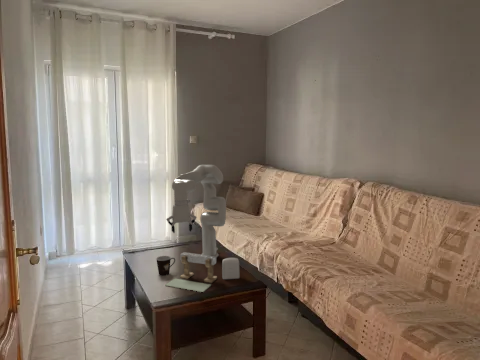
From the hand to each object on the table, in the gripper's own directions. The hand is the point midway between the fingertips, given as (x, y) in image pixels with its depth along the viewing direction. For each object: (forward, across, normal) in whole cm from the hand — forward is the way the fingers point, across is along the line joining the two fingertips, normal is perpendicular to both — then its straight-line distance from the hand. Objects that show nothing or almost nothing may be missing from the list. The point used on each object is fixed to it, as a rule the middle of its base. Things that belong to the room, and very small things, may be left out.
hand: (182, 231), depth 208 cm
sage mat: (+29, -1, +10) cm, 31 cm away
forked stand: (+29, -9, +1) cm, 30 cm away
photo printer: (+29, -27, +8) cm, 41 cm away
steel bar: (+19, -9, +1) cm, 21 cm away
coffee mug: (+29, +8, -13) cm, 33 cm away
